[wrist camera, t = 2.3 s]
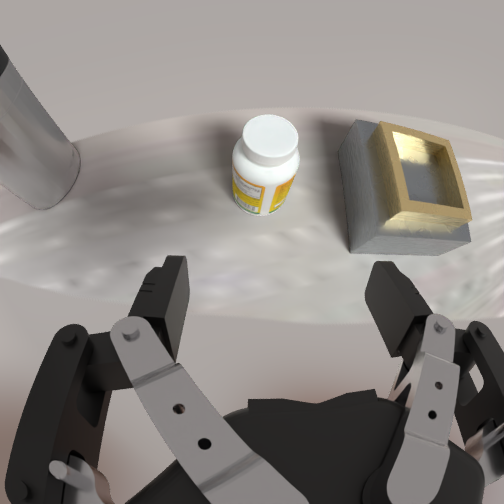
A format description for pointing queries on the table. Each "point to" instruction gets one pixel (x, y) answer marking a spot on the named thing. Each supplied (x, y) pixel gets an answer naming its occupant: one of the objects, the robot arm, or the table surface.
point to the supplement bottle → (264, 164)
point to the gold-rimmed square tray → (402, 191)
